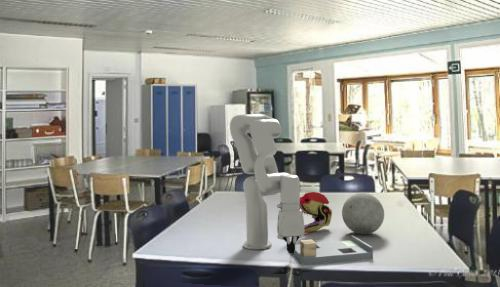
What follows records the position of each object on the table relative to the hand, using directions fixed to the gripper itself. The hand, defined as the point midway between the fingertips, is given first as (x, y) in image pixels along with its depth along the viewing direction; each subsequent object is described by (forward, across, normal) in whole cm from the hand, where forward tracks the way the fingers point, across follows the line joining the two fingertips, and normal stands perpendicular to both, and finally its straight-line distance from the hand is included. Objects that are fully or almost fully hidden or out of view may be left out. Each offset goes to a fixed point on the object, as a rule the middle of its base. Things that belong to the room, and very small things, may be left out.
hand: (291, 252), depth 164 cm
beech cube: (+1, +7, 0) cm, 7 cm away
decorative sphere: (+4, +46, +30) cm, 55 cm away
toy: (+4, +23, +40) cm, 46 cm away
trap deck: (+4, +18, +5) cm, 19 cm away
